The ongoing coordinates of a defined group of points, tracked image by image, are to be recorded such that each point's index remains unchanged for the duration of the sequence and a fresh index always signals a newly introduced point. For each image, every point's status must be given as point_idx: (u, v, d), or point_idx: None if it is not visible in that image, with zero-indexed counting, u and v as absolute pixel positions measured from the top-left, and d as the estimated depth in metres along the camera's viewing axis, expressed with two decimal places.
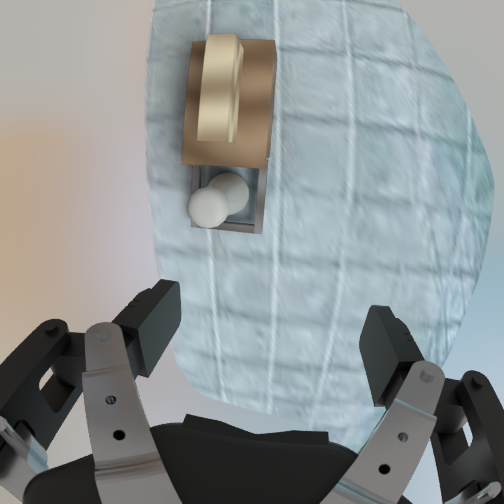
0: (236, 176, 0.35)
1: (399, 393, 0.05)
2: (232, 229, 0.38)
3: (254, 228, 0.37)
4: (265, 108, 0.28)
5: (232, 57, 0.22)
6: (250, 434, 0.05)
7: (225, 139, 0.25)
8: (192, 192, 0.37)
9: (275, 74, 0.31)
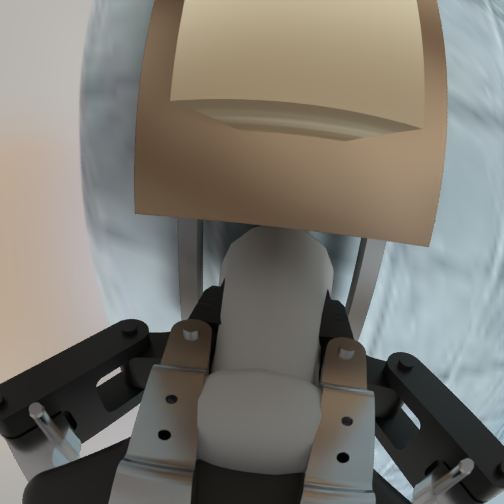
0: (307, 240, 0.12)
1: (324, 377, 0.06)
2: None
3: None
4: (435, 42, 0.05)
5: None
6: None
7: (417, 112, 0.02)
8: (181, 273, 0.14)
9: None
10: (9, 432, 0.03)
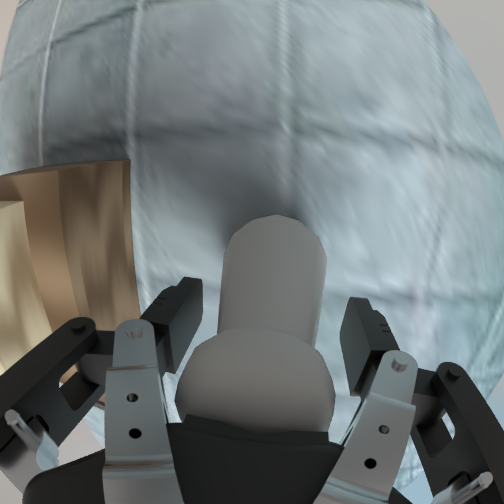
0: (301, 229, 0.14)
1: (373, 385, 0.06)
2: None
3: None
4: None
5: None
6: (250, 434, 0.05)
7: None
8: None
9: (122, 205, 0.17)
10: None
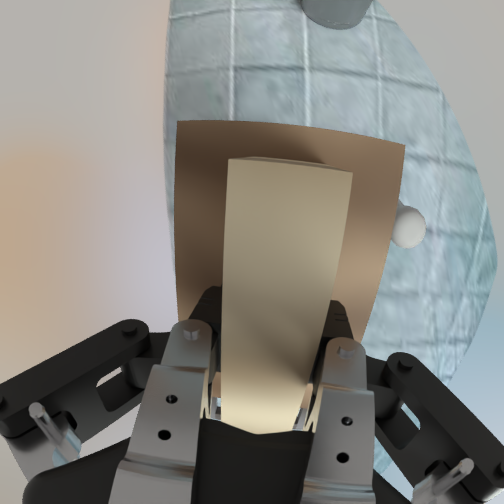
0: None
1: (323, 377, 0.06)
2: None
3: (296, 425, 0.22)
4: (359, 326, 0.13)
5: (328, 285, 0.07)
6: (250, 434, 0.05)
7: None
8: None
9: None
10: (9, 432, 0.03)
